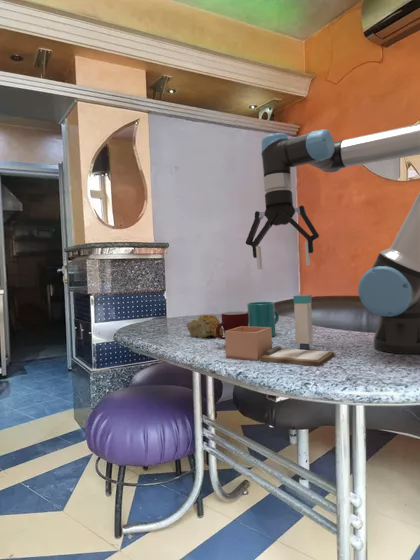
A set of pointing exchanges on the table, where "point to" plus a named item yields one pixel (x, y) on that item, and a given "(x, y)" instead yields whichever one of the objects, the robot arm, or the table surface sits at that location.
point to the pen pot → (248, 342)
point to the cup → (262, 315)
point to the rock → (204, 326)
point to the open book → (296, 356)
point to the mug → (232, 321)
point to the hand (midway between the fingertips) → (283, 267)
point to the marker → (303, 320)
